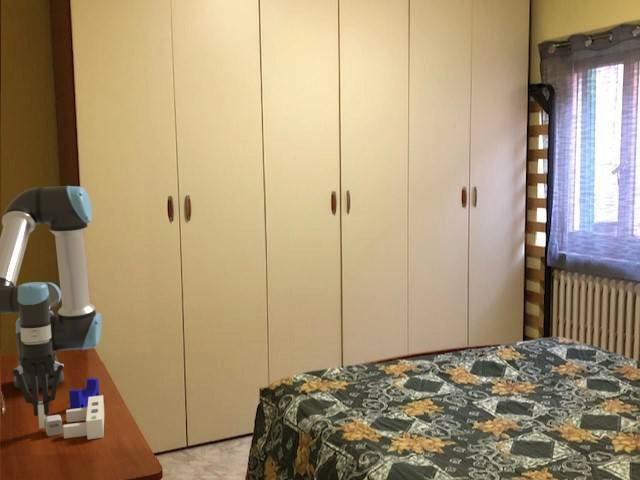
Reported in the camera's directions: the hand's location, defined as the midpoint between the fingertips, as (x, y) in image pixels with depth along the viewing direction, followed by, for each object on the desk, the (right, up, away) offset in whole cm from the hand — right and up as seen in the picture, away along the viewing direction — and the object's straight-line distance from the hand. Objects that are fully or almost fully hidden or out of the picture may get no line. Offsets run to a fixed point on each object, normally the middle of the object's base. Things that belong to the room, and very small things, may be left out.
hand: (42, 426), depth 193 cm
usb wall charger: (+3, -2, +1) cm, 3 cm away
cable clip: (+4, +1, +22) cm, 23 cm away
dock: (+11, -1, +4) cm, 12 cm away
